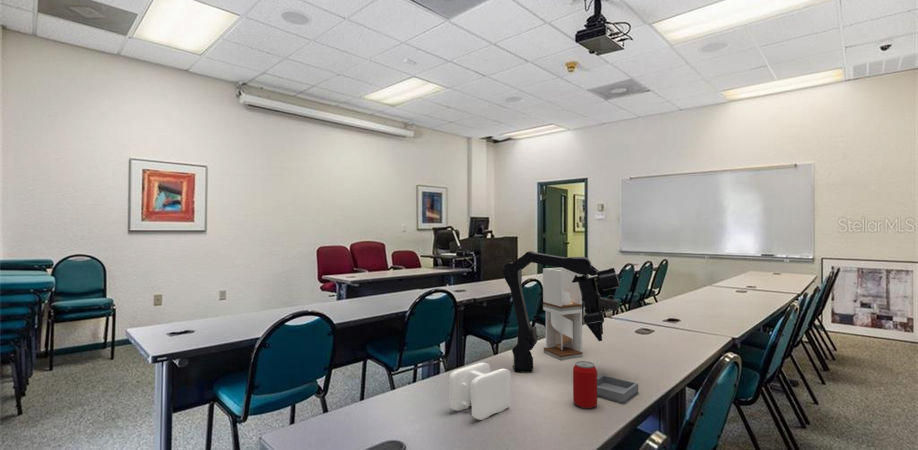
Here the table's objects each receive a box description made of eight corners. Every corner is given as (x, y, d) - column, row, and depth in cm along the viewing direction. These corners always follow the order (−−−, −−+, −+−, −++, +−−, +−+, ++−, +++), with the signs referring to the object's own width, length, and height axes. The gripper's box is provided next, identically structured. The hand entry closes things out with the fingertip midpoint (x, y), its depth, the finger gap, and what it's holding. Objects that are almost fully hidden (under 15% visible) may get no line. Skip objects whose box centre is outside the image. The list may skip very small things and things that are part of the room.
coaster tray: (586, 393, 130) (586, 384, 130) (602, 383, 138) (602, 374, 138) (623, 404, 122) (623, 394, 122) (638, 392, 130) (638, 383, 130)
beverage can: (598, 402, 123) (598, 361, 124) (595, 411, 117) (595, 368, 117) (575, 398, 126) (574, 359, 126) (571, 407, 120) (571, 365, 120)
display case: (543, 352, 173) (542, 268, 173) (564, 349, 178) (563, 267, 178) (561, 360, 163) (560, 271, 163) (582, 356, 167) (581, 269, 168)
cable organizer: (473, 425, 110) (473, 381, 110) (447, 412, 118) (447, 370, 118) (511, 408, 120) (511, 368, 120) (485, 397, 127) (484, 359, 128)
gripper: (613, 292, 133) (626, 341, 131) (613, 284, 150) (625, 327, 149) (578, 298, 137) (590, 346, 135) (582, 290, 154) (593, 332, 153)
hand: (601, 337), depth 143 cm, fingers open, 9 cm apart
